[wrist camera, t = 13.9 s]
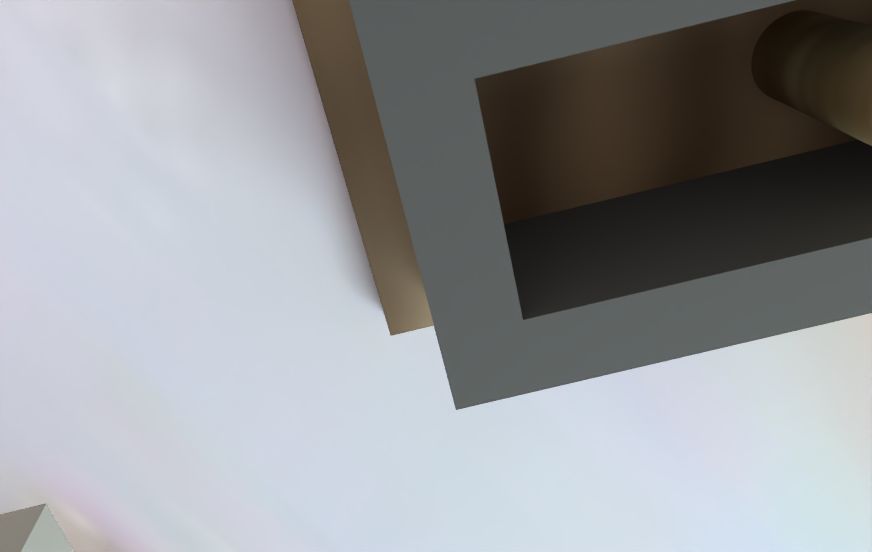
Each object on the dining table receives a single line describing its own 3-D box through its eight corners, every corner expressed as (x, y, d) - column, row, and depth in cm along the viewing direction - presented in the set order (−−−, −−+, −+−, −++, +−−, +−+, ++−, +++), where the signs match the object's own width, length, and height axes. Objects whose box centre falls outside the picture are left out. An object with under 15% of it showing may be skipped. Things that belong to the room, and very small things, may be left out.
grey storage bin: (437, 302, 30) (455, 409, 23) (353, -26, 24) (348, -2, 18) (957, 178, 29) (1119, 254, 23) (985, -184, 24) (1207, -215, 18)
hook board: (390, 317, 31) (407, 665, 17) (283, -48, 25) (172, 16, 11) (977, 177, 31) (1512, 417, 16) (1014, -233, 25) (1917, -422, 10)
